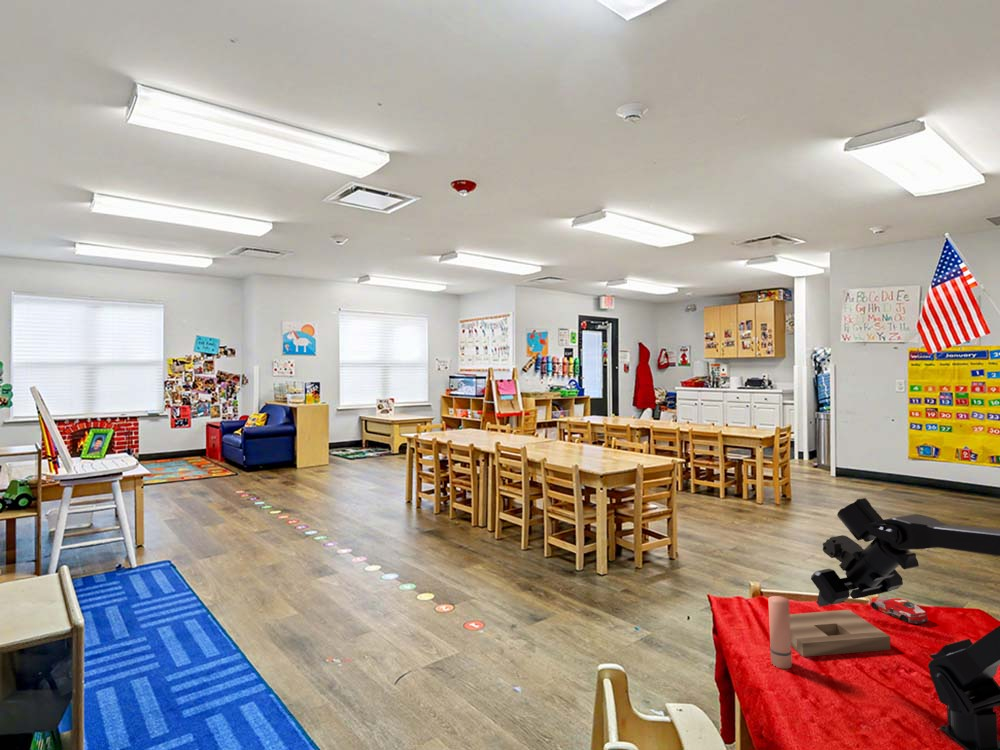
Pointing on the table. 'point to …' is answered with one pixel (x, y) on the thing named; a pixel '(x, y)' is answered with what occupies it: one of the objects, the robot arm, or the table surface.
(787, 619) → the peg
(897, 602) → the race car
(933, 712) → the table surface
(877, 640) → the board
